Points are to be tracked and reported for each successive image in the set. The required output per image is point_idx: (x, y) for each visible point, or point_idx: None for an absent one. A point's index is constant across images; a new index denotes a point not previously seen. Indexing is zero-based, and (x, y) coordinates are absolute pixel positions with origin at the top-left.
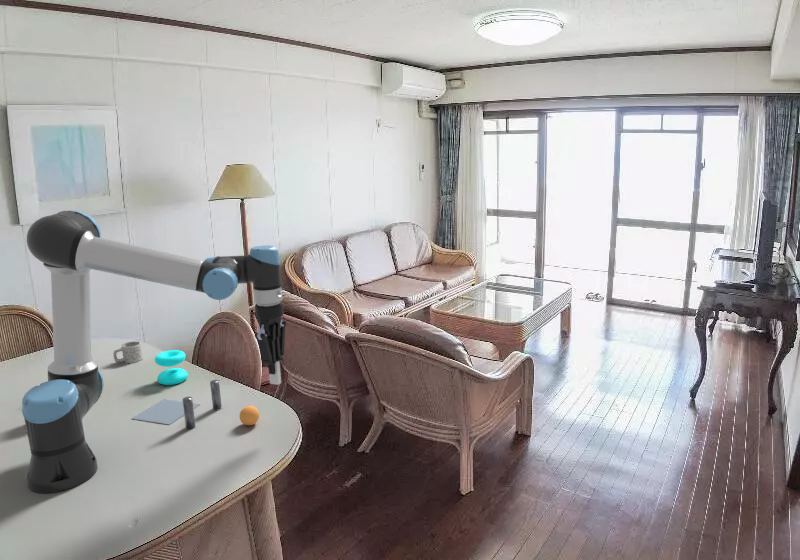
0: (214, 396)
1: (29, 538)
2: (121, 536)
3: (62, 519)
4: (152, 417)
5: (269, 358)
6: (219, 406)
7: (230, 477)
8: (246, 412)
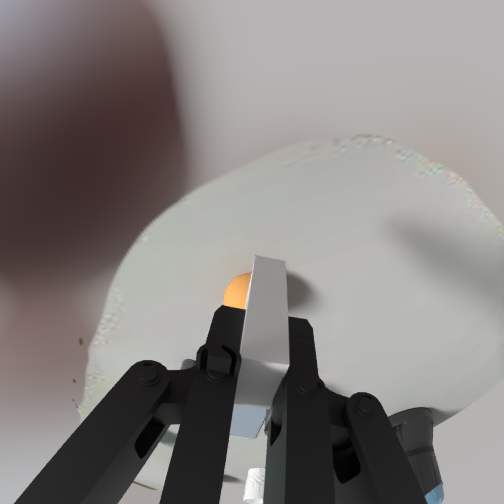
0: None
1: (492, 382)
2: None
3: (479, 381)
4: (248, 425)
5: (397, 437)
6: (192, 365)
7: (473, 243)
8: None
